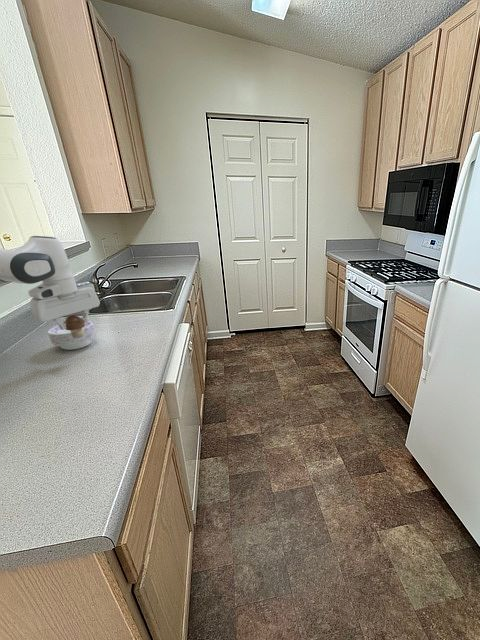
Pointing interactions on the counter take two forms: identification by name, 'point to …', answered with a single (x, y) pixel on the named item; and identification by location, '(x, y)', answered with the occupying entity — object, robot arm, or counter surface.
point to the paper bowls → (66, 339)
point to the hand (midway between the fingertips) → (74, 325)
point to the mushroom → (75, 325)
